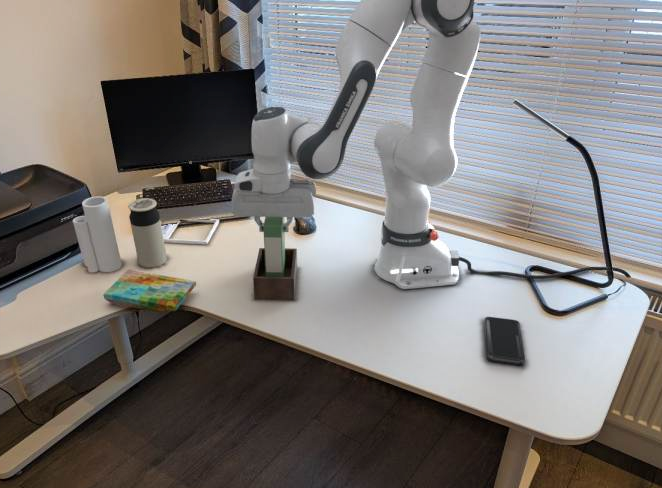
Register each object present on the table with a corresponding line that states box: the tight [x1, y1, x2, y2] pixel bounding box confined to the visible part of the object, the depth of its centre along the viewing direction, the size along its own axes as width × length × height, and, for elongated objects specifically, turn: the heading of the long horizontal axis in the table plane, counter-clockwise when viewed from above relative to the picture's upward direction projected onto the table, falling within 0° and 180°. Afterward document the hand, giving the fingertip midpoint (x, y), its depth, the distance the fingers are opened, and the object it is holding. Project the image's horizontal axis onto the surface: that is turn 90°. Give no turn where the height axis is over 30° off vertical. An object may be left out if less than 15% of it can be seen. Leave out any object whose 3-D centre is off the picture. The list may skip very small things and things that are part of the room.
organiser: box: [252, 247, 298, 301], centre depth 146 cm, size 10×15×7 cm
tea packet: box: [263, 217, 286, 277], centre depth 142 cm, size 4×16×9 cm
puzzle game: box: [102, 269, 197, 314], centre depth 142 cm, size 12×5×20 cm
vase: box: [72, 195, 123, 274], centre depth 152 cm, size 11×7×20 cm, turn 82°
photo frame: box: [161, 218, 220, 246], centre depth 173 cm, size 15×1×18 cm
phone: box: [483, 316, 526, 366], centre depth 126 cm, size 8×1×15 cm
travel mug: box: [127, 197, 168, 268], centre depth 154 cm, size 8×8×18 cm
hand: (274, 231), depth 139 cm, fingers closed on tea packet, 4 cm apart
